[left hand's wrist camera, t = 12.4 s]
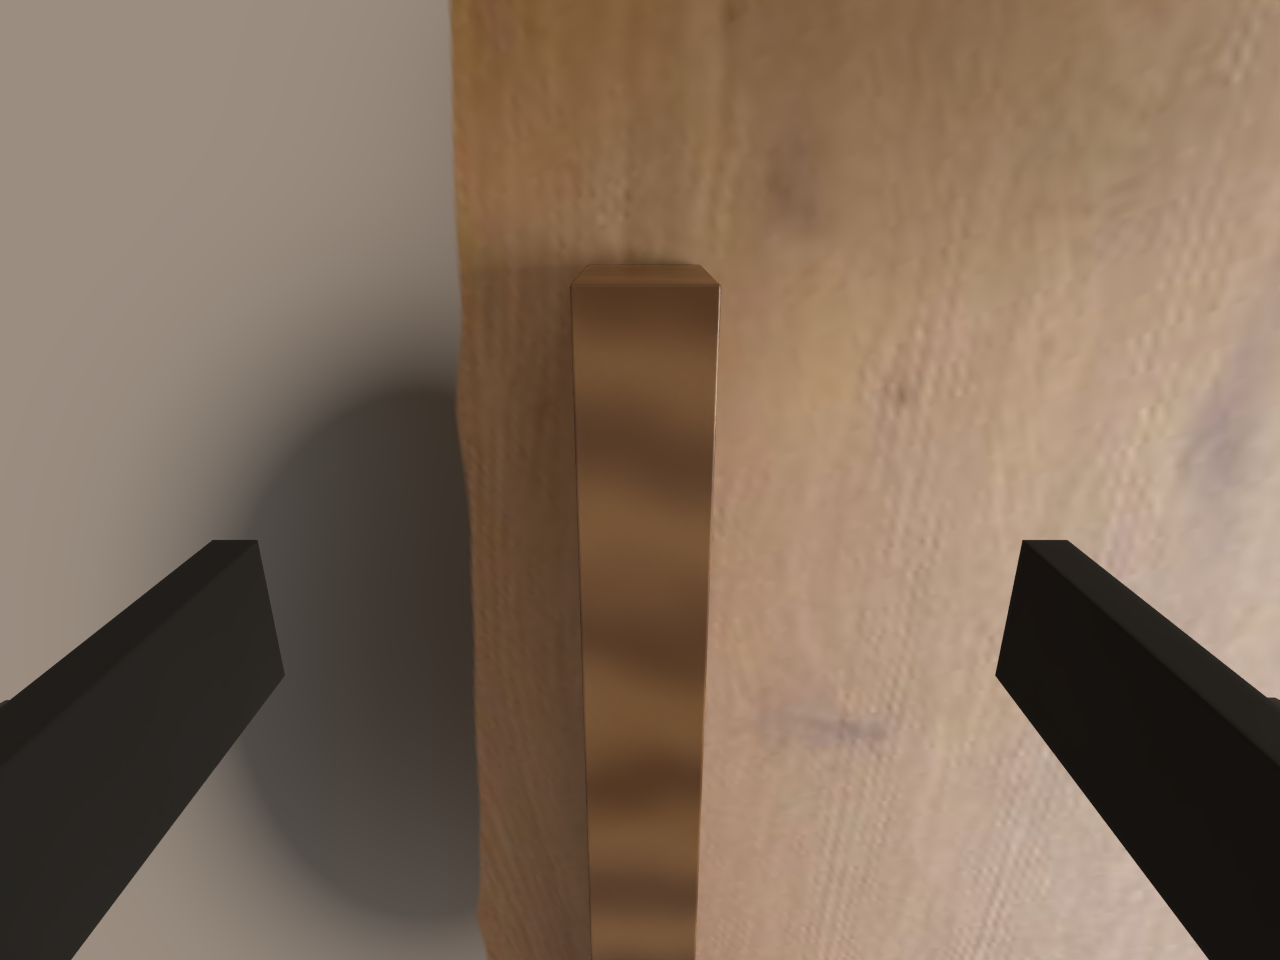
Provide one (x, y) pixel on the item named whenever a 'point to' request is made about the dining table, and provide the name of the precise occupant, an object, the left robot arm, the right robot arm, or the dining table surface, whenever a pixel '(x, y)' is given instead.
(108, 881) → the left robot arm
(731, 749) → the dining table surface
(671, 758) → the beam
